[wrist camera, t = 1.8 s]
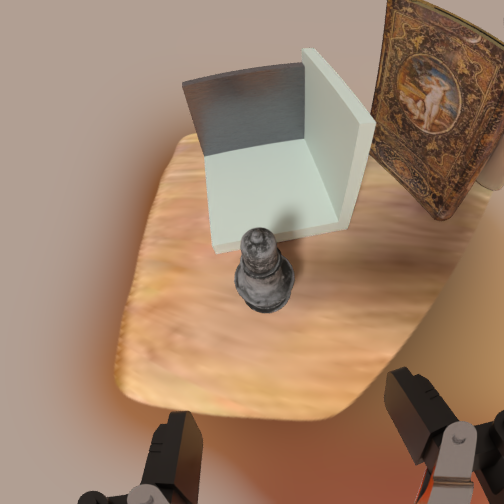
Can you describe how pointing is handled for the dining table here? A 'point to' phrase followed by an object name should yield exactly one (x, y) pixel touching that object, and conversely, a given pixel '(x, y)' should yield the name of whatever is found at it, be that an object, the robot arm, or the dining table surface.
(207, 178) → the shelf
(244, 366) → the dining table surface
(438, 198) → the book
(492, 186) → the robot arm
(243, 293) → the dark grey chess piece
